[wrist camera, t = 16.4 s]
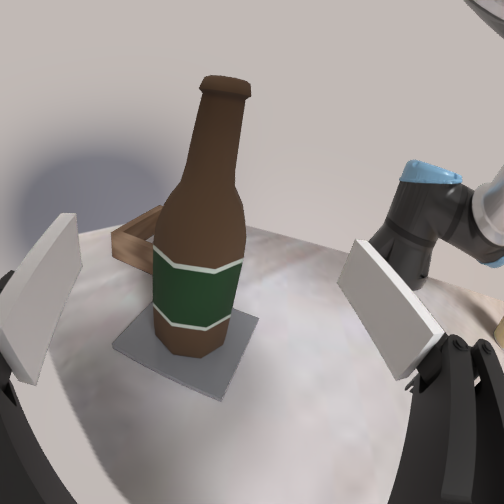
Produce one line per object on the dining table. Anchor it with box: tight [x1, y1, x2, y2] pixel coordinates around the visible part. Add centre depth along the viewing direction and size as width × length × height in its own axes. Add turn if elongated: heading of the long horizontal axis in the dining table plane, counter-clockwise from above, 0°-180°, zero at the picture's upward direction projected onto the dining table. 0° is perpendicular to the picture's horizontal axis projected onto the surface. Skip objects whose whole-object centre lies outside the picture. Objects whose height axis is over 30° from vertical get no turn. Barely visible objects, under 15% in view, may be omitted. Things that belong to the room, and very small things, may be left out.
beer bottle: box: [153, 75, 251, 359], centre depth 22 cm, size 8×8×24 cm
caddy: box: [111, 205, 163, 275], centre depth 40 cm, size 12×12×4 cm
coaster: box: [112, 301, 259, 401], centre depth 28 cm, size 12×12×1 cm
